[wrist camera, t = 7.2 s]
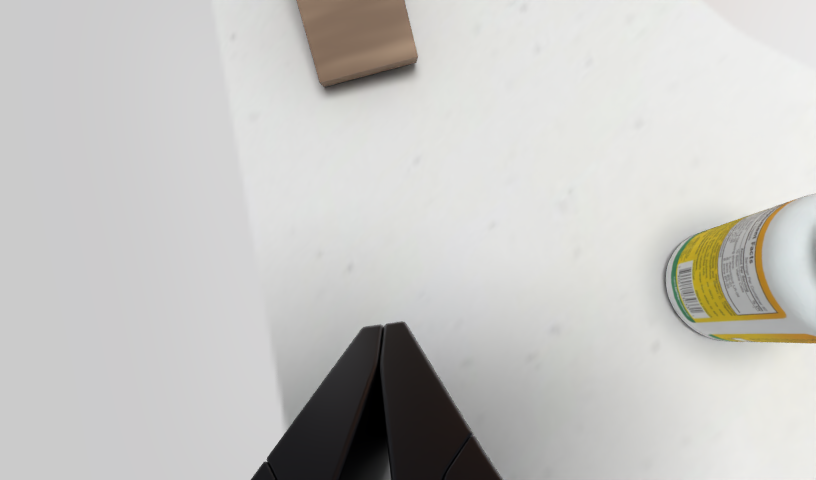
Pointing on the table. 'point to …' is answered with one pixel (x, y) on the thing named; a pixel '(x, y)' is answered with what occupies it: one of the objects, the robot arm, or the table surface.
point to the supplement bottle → (750, 277)
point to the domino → (357, 37)
